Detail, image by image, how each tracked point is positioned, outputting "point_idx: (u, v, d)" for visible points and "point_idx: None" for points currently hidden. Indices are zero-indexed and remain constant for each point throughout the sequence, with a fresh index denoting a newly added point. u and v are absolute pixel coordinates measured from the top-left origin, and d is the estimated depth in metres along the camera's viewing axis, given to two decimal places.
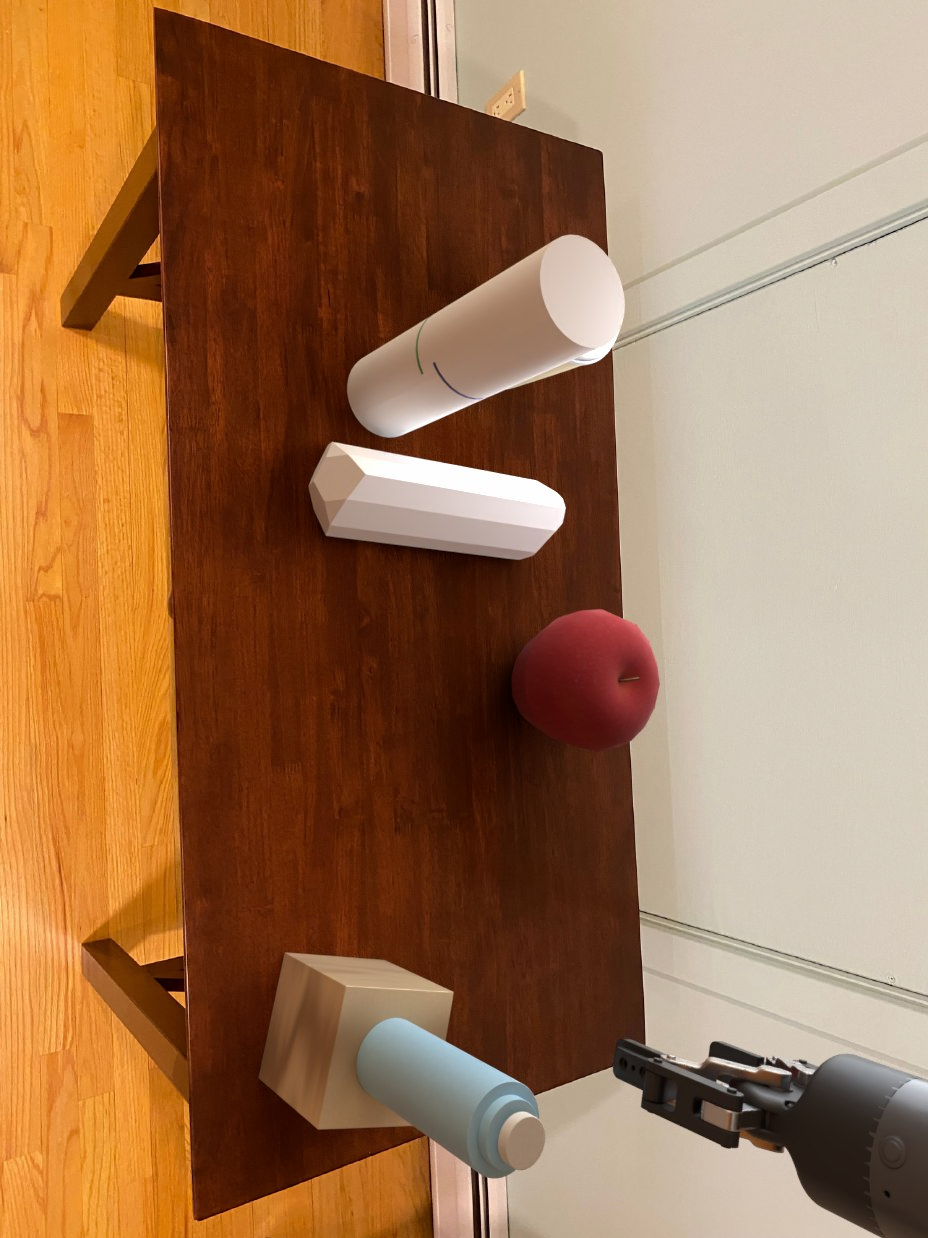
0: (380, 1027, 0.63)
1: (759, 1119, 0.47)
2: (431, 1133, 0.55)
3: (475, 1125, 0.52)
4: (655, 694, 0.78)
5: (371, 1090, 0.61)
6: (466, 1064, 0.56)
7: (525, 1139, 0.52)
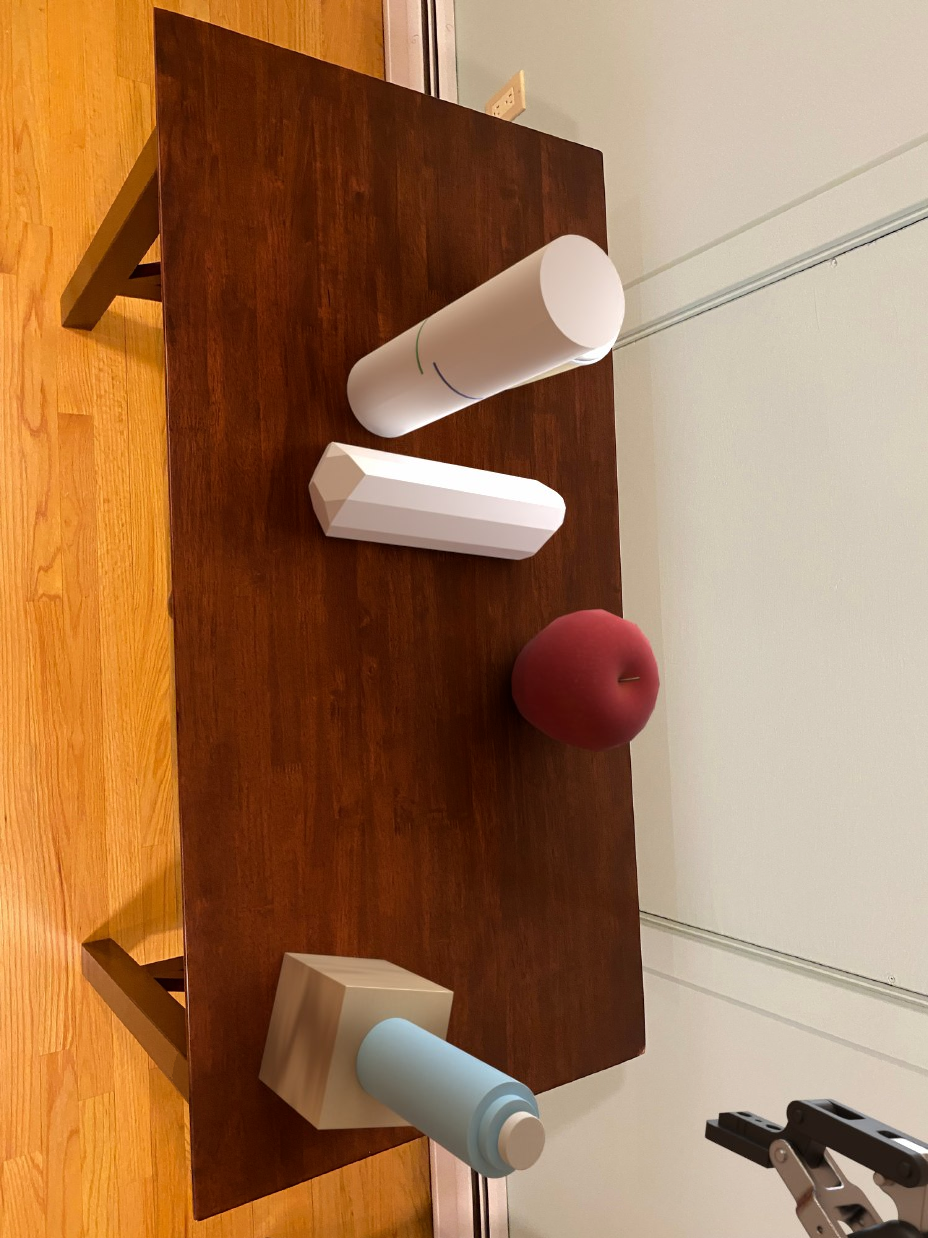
0: (380, 1027, 0.63)
1: (927, 1228, 0.35)
2: (431, 1133, 0.55)
3: (475, 1125, 0.52)
4: (655, 694, 0.78)
5: (371, 1090, 0.61)
6: (466, 1064, 0.56)
7: (525, 1139, 0.52)
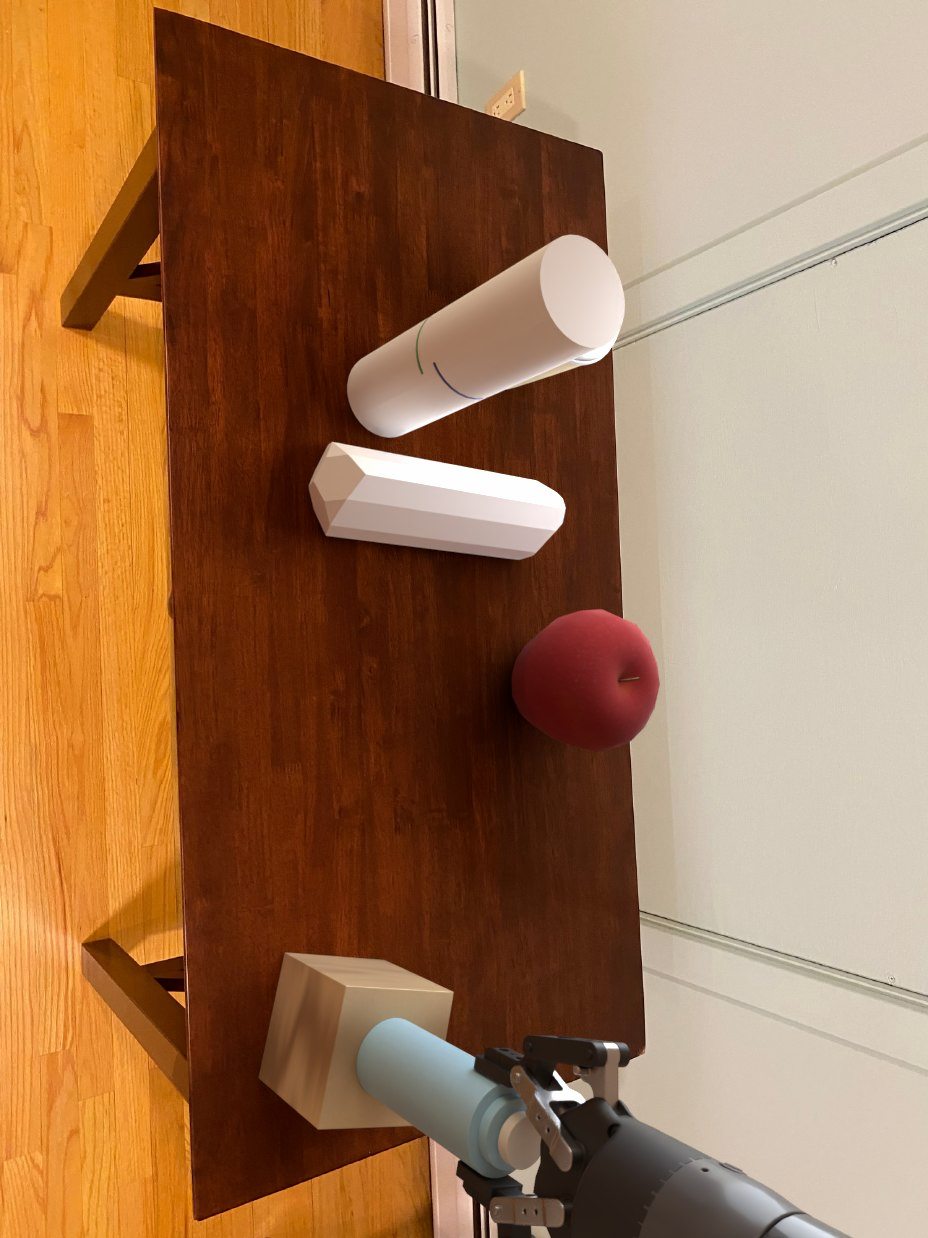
0: (380, 1027, 0.63)
1: (612, 1097, 0.48)
2: (431, 1133, 0.55)
3: (475, 1125, 0.52)
4: (655, 694, 0.78)
5: (371, 1090, 0.61)
6: (466, 1064, 0.56)
7: (525, 1139, 0.52)
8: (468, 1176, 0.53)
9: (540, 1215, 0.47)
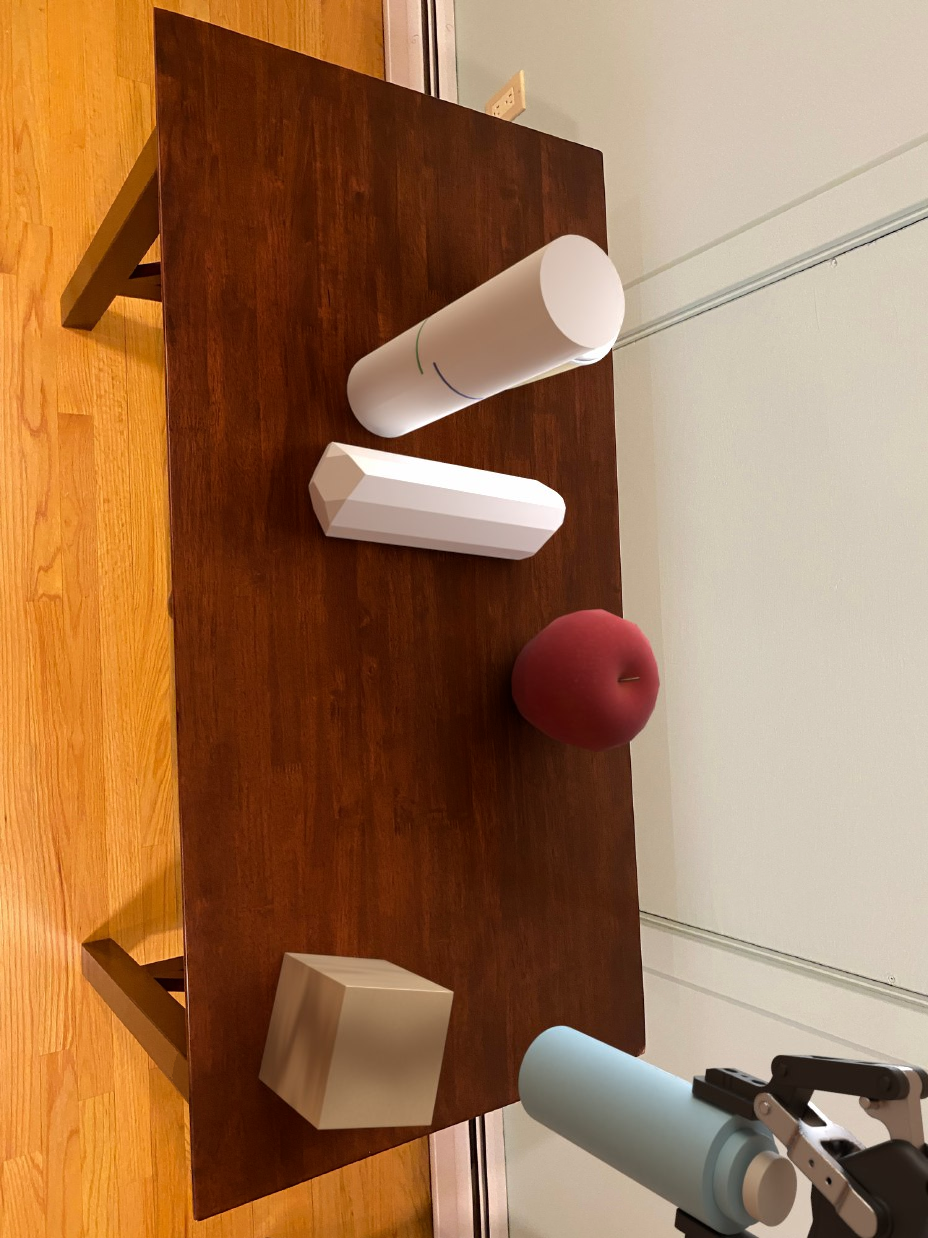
0: (546, 1037, 0.52)
1: (918, 1140, 0.36)
2: (638, 1174, 0.44)
3: (709, 1168, 0.41)
4: (655, 694, 0.78)
5: (541, 1115, 0.50)
6: (679, 1088, 0.45)
7: (776, 1187, 0.40)
8: (696, 1231, 0.42)
9: None
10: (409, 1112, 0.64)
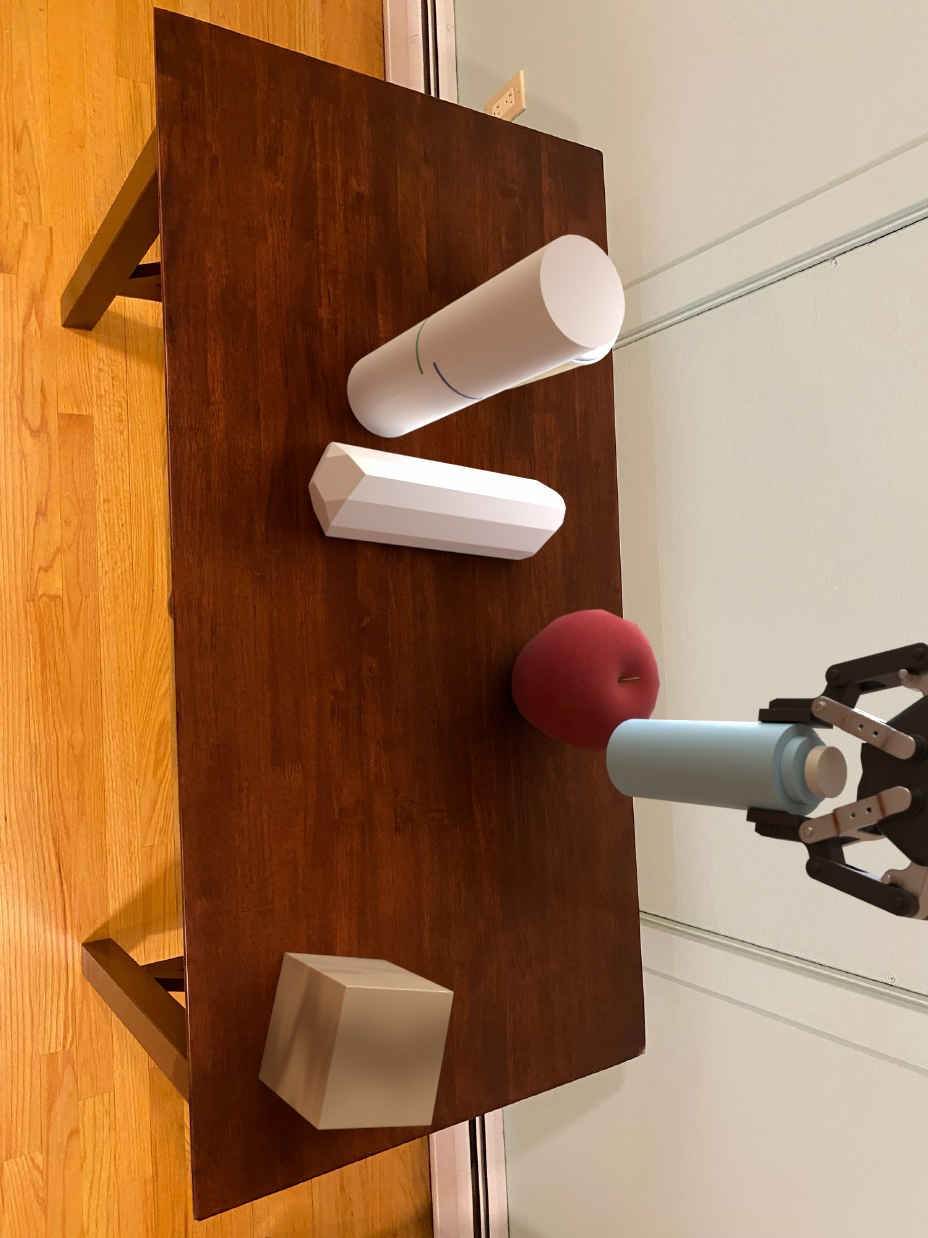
0: (628, 722, 0.62)
1: None
2: (716, 786, 0.54)
3: (777, 757, 0.51)
4: (655, 694, 0.78)
5: (627, 776, 0.60)
6: (747, 722, 0.55)
7: (832, 767, 0.51)
8: (765, 815, 0.52)
9: (876, 810, 0.46)
10: (409, 1112, 0.64)
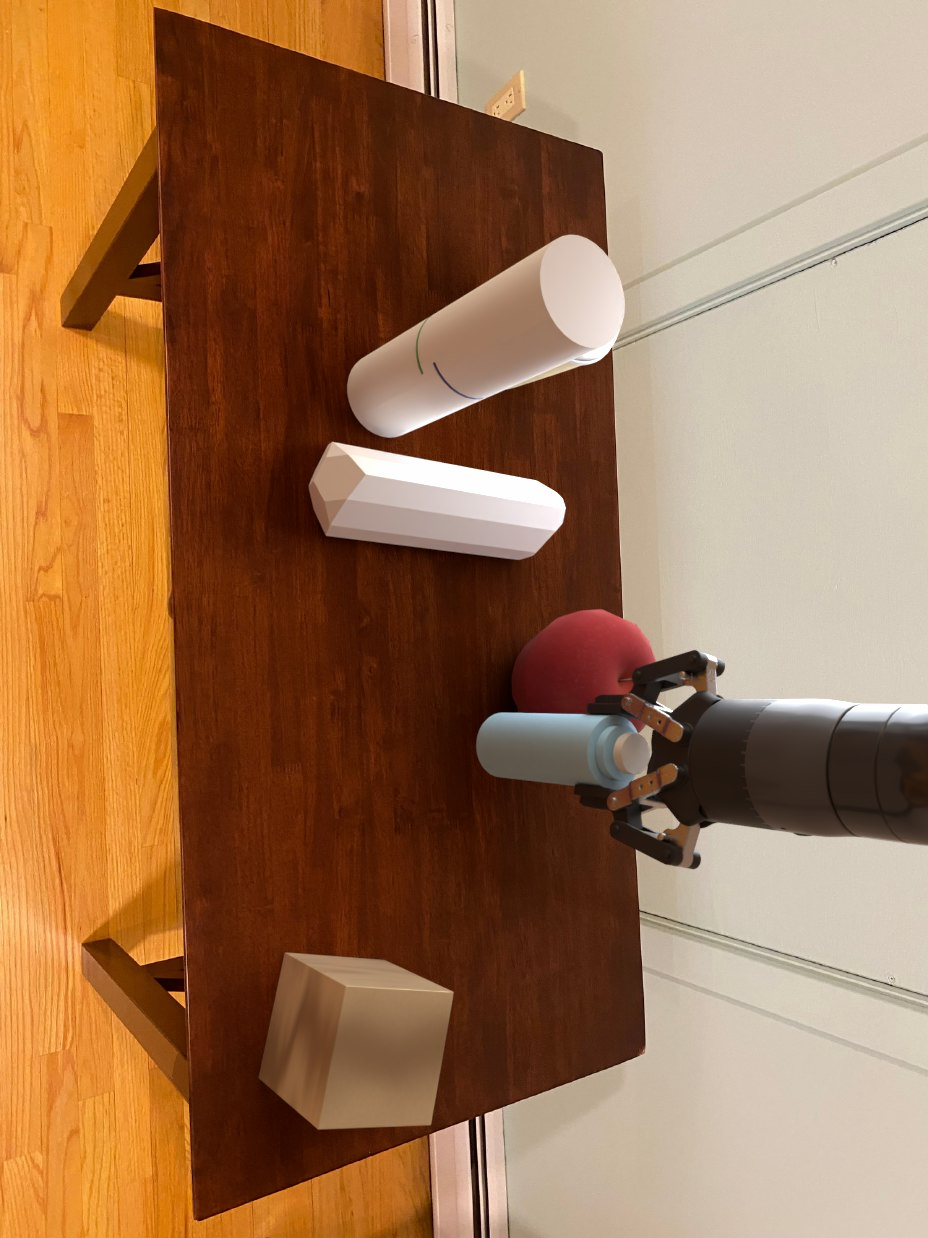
0: (495, 715, 0.74)
1: (712, 691, 0.59)
2: (551, 766, 0.66)
3: (593, 742, 0.63)
4: None
5: (491, 760, 0.72)
6: (579, 714, 0.67)
7: (635, 750, 0.63)
8: (585, 789, 0.64)
9: (655, 782, 0.59)
10: (409, 1112, 0.64)
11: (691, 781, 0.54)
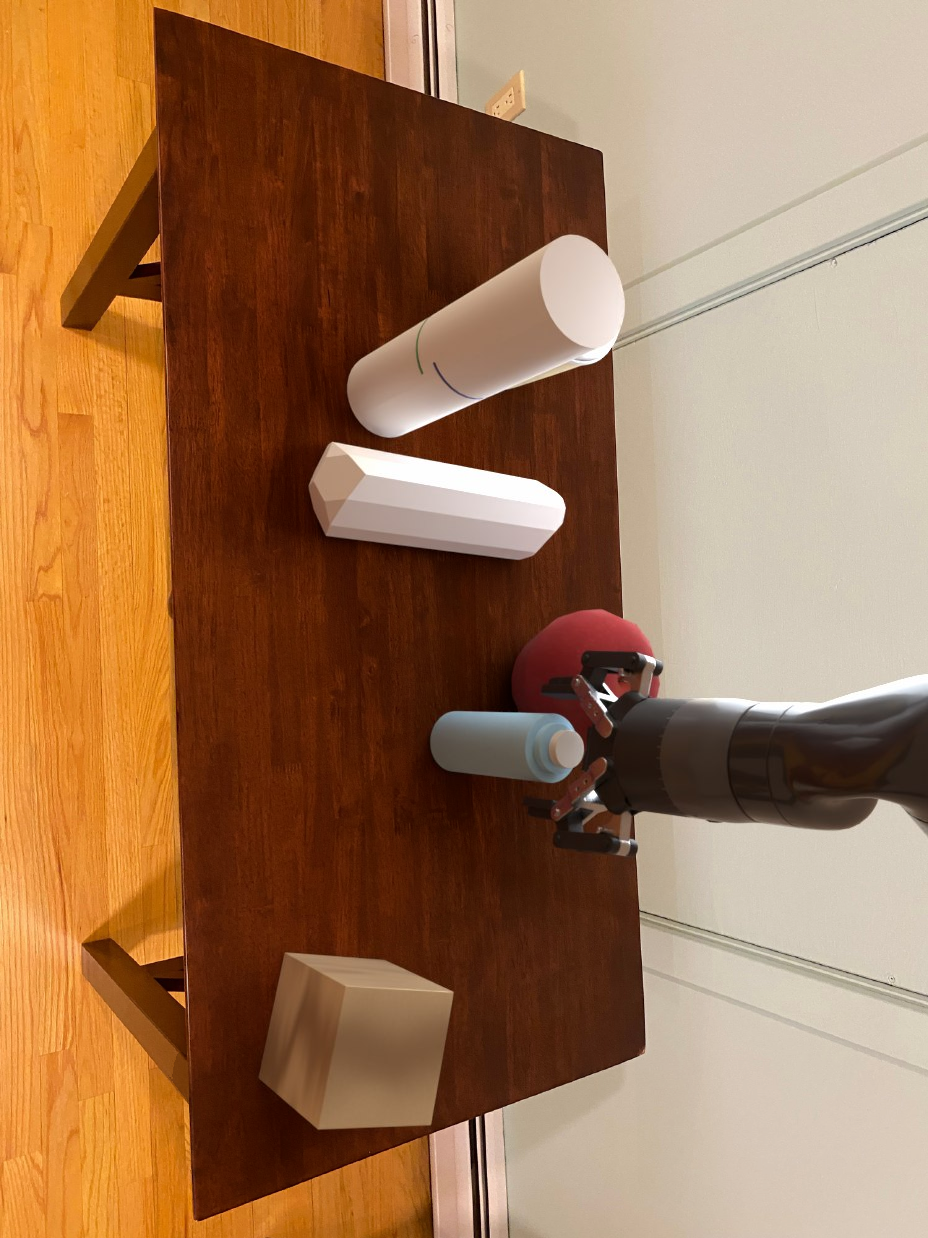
0: (448, 714, 0.80)
1: (644, 692, 0.64)
2: (495, 760, 0.72)
3: (531, 738, 0.69)
4: (655, 694, 0.78)
5: (443, 755, 0.78)
6: (521, 713, 0.73)
7: (569, 746, 0.68)
8: (532, 801, 0.69)
9: (589, 779, 0.64)
10: (409, 1112, 0.64)
11: (616, 773, 0.59)
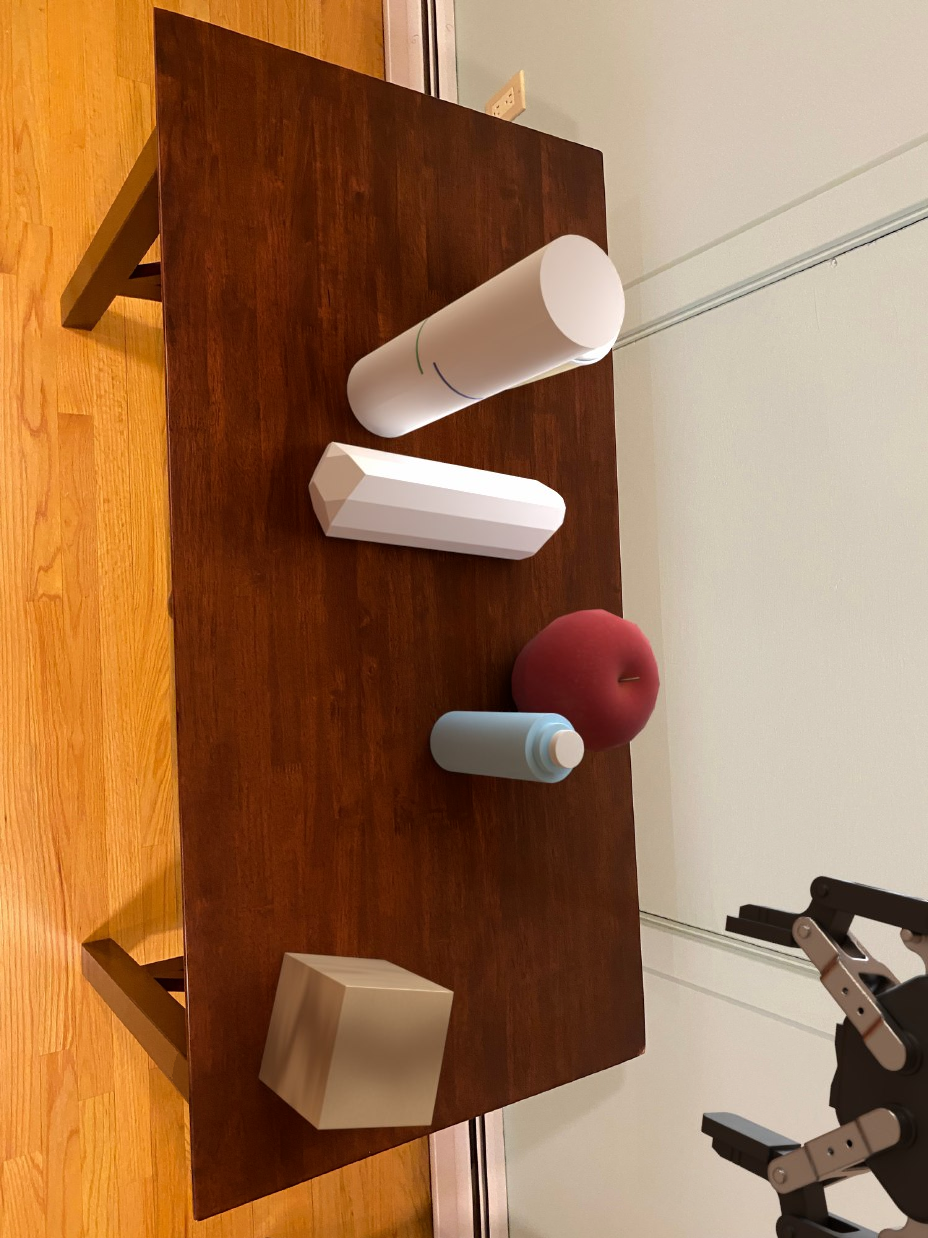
0: (448, 714, 0.80)
1: None
2: (495, 760, 0.72)
3: (531, 738, 0.69)
4: (655, 694, 0.78)
5: (443, 755, 0.78)
6: (521, 713, 0.73)
7: (569, 746, 0.68)
8: (724, 1133, 0.40)
9: (858, 1144, 0.35)
10: (409, 1112, 0.64)
11: None
